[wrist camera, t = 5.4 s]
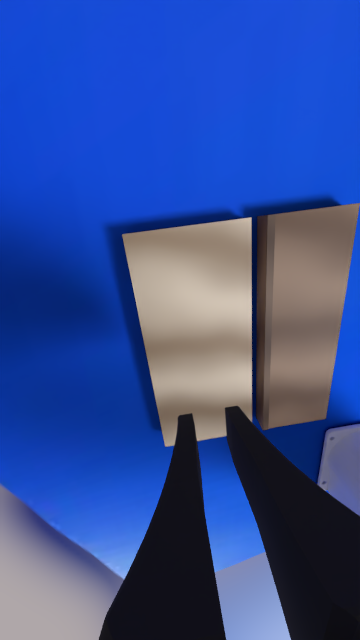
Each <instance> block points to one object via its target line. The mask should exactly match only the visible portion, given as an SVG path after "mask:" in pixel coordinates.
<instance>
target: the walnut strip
mask: <svg viewBox="0 0 360 640" xmlns="http://www.w3.org/2000/svg"><path fill="white" fill-rule="evenodd" d="M359 205H360V203H357V204H348V205H340V206H333V207H325V208H317V209H310V210H302V211H294V212H287V213H279V214H272V215H264V216H257V350H256V418H257V420H258V422H259V424H260V426H261V428H262V429H263V430H268V429H269V428H275V427H281V426H287V425H292V424H298V423H304V422H310V421H316V420H322V419H326V414H327V408H328V401H329V395H330V389H331V382H332V376H333V370H334V363H335V357H336V351H337V344H338V338H339V332H340V325H341V319H342V313H343V306H344V300H345V294H346V287H347V281H348V275H349V268H350V262H351V256H352V249H353V243H354V237H355V230H356V224H357V218H358V211H359Z"/></svg>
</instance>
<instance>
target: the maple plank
mask: <svg viewBox="0 0 360 640" xmlns="http://www.w3.org/2000/svg"><path fill="white" fill-rule="evenodd" d="M122 237H123V242H124V246H125V251H126V256H127V261H128V266H129V271H130V276H131V281H132V286H133V291H134V296H135V300H136V305H137V310H138V315H139V320H140V325H141V330H142V335H143V340H144V345H145V350H146V355H147V359H148V364H149V369H150V374H151V379H152V384H153V389H154V394H155V399H156V404H157V409H158V414H159V418H160V423H161V428H162V433H163V438H164V443H165V447H167V446H173V445H175V440H176V434H177V424H178V416H179V415H184V414H190V413H192V414H193V419H194V424H195V431H196V438H197V441H201V440H206V439H212V438H218V437H223V436H227V433H226V418H225V408H226V407H232V406H239V407H240V408H241V410H242V411H243V412H244V413H245V415H246V416H247V417H248V418H249V420H250V421H251V422H252V217H250V218H241V219H234V220H226V221H218V222H211V223H203V224H196V225H188V226H180V227H173V228H165V229H158V230H150V231H142V232H135V233H127V234H122Z"/></svg>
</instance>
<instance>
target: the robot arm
mask: <svg viewBox="0 0 360 640" xmlns="http://www.w3.org/2000/svg"><path fill="white" fill-rule="evenodd" d="M225 418H226V433H227V441H228V445H229V448H230V452H231V455H232V459H233V462H234V465H235V468H236V470H237V473H238V475H239V478H240V481H241V483H242V486H243V488H244V491H245V493H246V496H247V499H248V501H249V504H250V506H251V509H252V512H253V514H254V517H255V520H256V523H257V525H258V528H259V532H260V535H261V538H262V541H263V545H264V548H265V551H266V555H267V558H268V561H269V565H270V568H271V571H272V575H273V578H274V582H275V585H276V588H277V592H278V595H279V598H280V602H281V606H282V609H283V613H284V616H285V620H286V623H287V626H288V630H289V633H290V637H291V640H360V424H355V425H350V426H344V427H338V428H332V429H329V430H327V431H326V434H325V440H324V447H323V453H322V459H321V465H320V471H319V477H318V483H317V484H316V483H315V482H313V481H312V480H311V479H310V478H309V477H307V476H306V475H305V474H304V473H303V472H301V471H300V470H299V469H298V468H297V467H296V466H295V465H293V464H292V463H291V462H290V461H289V460H288V459H287V458H286V457H285V456H284V455H283V454H282V453H281V452H280V451H279V450H277V449H276V448H275V447H274V446H273V445H272V444H271V442H270V441H269V440H268V439H267V438H266V437H265V436H264V435H263V434H262V433H261V432H260V431H259V430H258V429H257V428H256V426H255V425H254V424H253V423H252V422H251V421H250V420H249V418H248V417H247V416H246V415H245V413H244V412H243V411H242V410H241V408H240V407H239V406H232V407H226V408H225ZM325 490H328V492H329V493H330V494H329V493H327V492H326V491H325ZM99 640H226V637H225V631H224V625H223V619H222V613H221V608H220V601H219V596H218V590H217V584H216V578H215V572H214V566H213V560H212V555H211V549H210V543H209V537H208V531H207V525H206V519H205V512H204V501H203V490H202V478H201V468H200V460H199V453H198V445H197V438H196V431H195V424H194V419H193V414H192V413H190V414H184V415H179V416H178V424H177V434H176V440H175V445H174V450H173V454H172V459H171V463H170V466H169V470H168V473H167V477H166V481H165V484H164V487H163V490H162V493H161V496H160V499H159V501H158V504H157V507H156V510H155V512H154V515H153V517H152V520H151V522H150V525H149V527H148V530H147V532H146V534H145V537H144V539H143V541H142V543H141V546H140V548H139V550H138V552H137V554H136V557H135V559H134V561H133V563H132V565H131V567H130V569H129V571H128V574H127V576H126V578H125V579H124V581H123V583H122V585H121V587H120V589H119V591H118V593H117V595H116V597H115V599H114V601H113V603H112V605H111V607H110V608H109V611H108V612H107V615H106V617H105V620H104V623H103V627H102V630H101V634H100V637H99Z"/></svg>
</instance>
